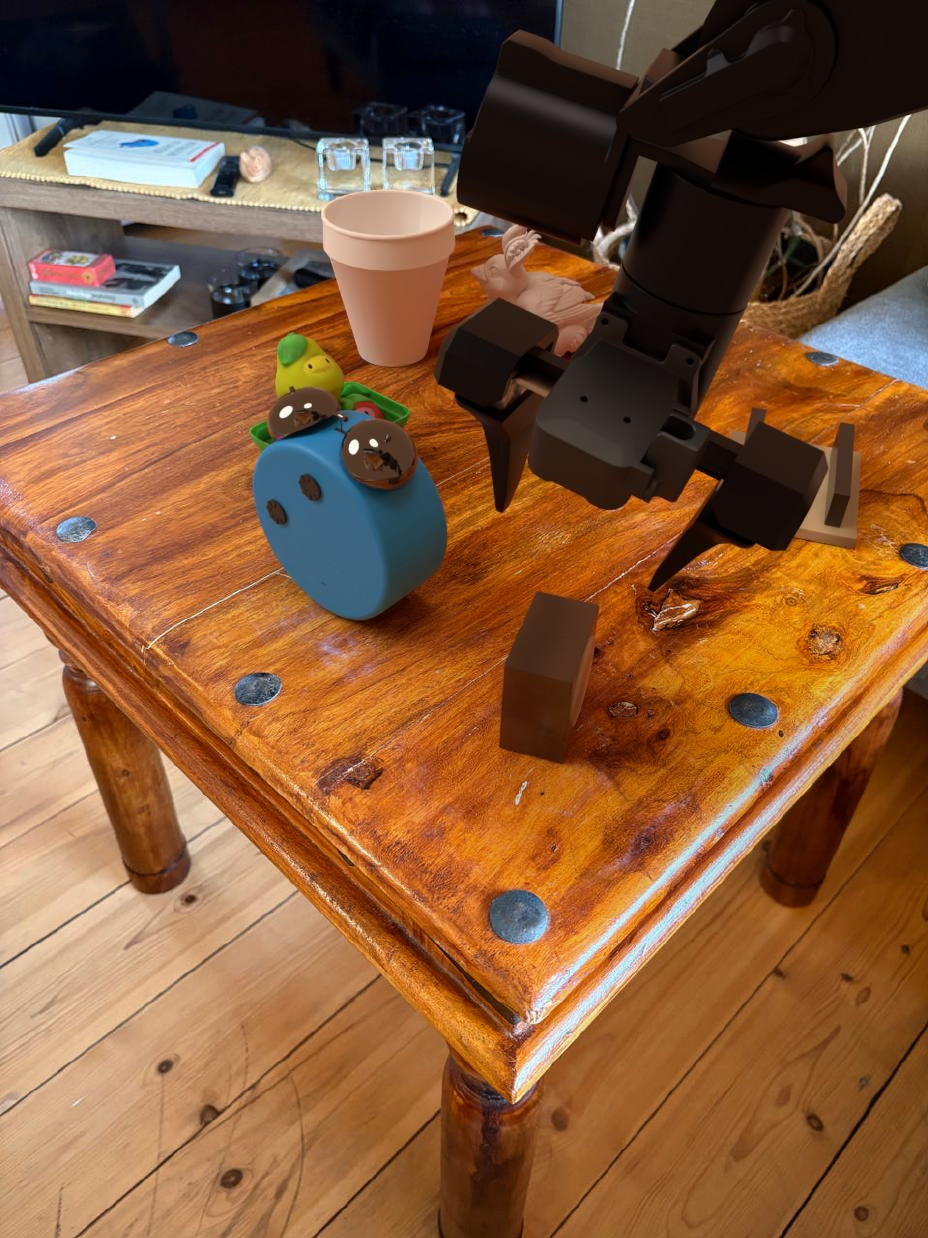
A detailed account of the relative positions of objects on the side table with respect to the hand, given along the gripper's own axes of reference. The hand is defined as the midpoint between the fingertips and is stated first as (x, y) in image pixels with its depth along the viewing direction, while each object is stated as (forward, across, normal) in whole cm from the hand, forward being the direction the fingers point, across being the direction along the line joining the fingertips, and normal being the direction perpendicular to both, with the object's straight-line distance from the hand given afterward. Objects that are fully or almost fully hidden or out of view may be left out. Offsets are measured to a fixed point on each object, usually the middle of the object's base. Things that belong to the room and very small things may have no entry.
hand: (576, 547), depth 53 cm
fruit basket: (+18, -24, +17) cm, 35 cm away
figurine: (+16, -18, +46) cm, 53 cm away
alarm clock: (+17, -14, +5) cm, 23 cm away
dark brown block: (+13, +2, 0) cm, 13 cm away
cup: (+19, -31, +38) cm, 53 cm away
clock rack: (+10, +9, +33) cm, 36 cm away
